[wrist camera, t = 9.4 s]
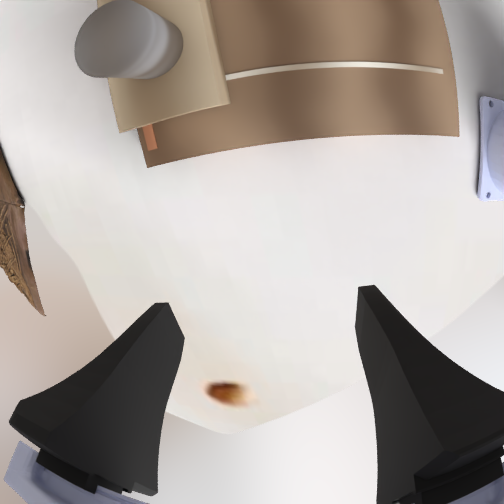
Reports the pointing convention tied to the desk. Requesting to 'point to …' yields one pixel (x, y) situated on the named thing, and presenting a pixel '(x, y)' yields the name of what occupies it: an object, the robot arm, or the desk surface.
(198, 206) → the desk surface
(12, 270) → the wooden fragment
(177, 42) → the beige block with knob
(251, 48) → the board
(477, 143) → the desk surface
